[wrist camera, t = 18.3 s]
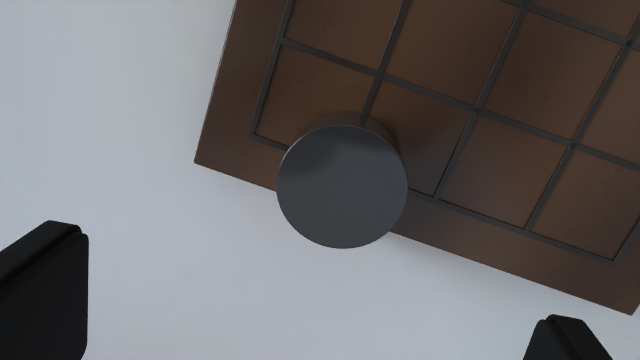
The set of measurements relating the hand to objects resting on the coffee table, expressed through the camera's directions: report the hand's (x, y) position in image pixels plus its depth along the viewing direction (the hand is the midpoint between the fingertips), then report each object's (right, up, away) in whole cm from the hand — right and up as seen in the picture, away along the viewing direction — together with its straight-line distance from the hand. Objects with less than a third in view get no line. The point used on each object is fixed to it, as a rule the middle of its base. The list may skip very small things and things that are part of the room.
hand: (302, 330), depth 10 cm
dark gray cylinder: (+1, +4, +10) cm, 10 cm away
